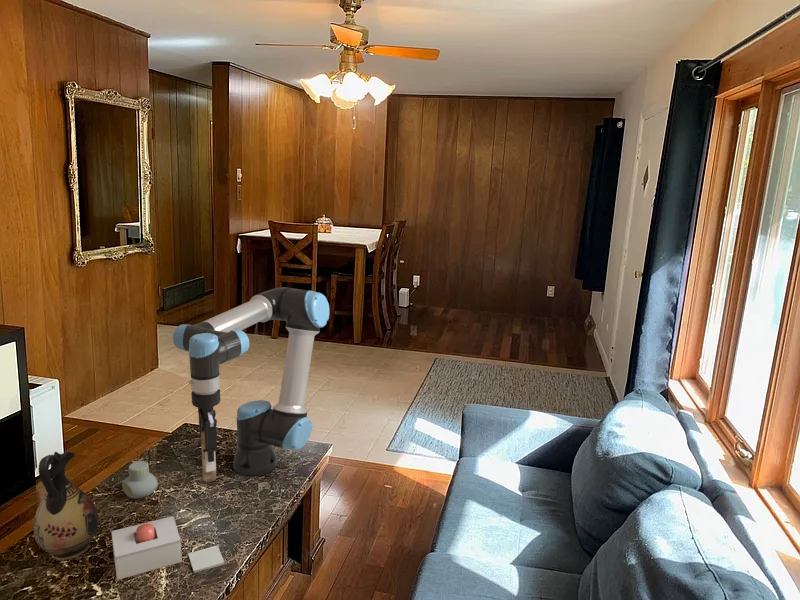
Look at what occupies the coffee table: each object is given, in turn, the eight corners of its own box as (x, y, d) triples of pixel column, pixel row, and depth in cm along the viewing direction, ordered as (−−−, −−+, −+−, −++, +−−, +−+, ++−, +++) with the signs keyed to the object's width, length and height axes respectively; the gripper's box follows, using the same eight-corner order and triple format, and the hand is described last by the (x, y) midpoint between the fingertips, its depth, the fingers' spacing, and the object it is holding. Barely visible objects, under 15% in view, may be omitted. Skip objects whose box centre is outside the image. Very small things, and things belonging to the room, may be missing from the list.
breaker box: (174, 536, 173) (173, 516, 171) (181, 561, 163) (180, 539, 161) (113, 552, 165) (111, 531, 163) (117, 579, 155) (115, 557, 153)
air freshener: (120, 491, 194) (117, 463, 192) (144, 482, 200) (142, 454, 198) (136, 505, 187) (133, 476, 185) (161, 494, 193) (159, 466, 191)
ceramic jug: (58, 531, 173) (47, 436, 166) (110, 533, 173) (102, 439, 166) (19, 570, 157) (6, 467, 150) (78, 574, 157) (66, 471, 149)
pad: (217, 547, 169) (217, 545, 169) (224, 564, 162) (224, 562, 162) (188, 555, 165) (188, 553, 165) (193, 573, 159) (193, 571, 158)
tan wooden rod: (214, 473, 173) (212, 429, 170) (217, 479, 170) (215, 434, 167) (201, 476, 171) (199, 431, 168) (204, 482, 168) (202, 437, 165)
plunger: (153, 537, 166) (152, 521, 165) (156, 546, 162) (155, 530, 161) (136, 542, 164) (135, 526, 163) (138, 551, 160) (137, 535, 159)
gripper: (185, 381, 169) (189, 456, 175) (197, 403, 155) (201, 484, 161) (213, 377, 173) (216, 451, 179) (226, 398, 159) (229, 478, 165)
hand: (209, 466), depth 170 cm, fingers closed on tan wooden rod, 3 cm apart
